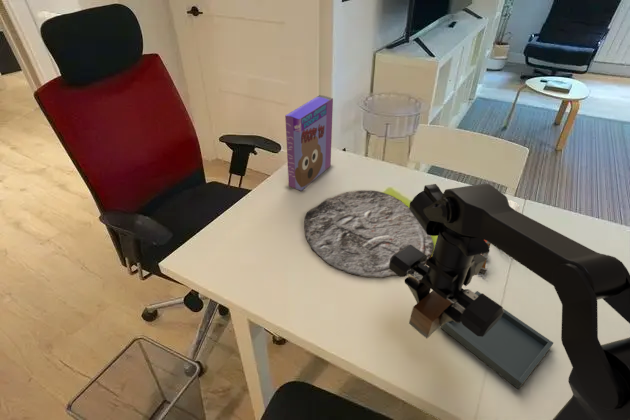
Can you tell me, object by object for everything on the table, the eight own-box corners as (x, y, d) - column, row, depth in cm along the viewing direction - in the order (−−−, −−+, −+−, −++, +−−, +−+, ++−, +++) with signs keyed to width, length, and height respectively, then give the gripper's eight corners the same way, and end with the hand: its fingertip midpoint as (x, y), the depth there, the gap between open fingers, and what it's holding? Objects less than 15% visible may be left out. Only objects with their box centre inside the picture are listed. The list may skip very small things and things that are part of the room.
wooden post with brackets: (489, 247, 94) (493, 240, 90) (482, 276, 91) (487, 270, 87) (481, 245, 95) (485, 238, 91) (475, 273, 92) (478, 267, 88)
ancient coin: (376, 303, 82) (376, 302, 82) (280, 224, 102) (280, 223, 102) (459, 235, 99) (459, 234, 99) (362, 179, 119) (363, 178, 119)
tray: (549, 348, 74) (554, 342, 72) (518, 389, 67) (522, 383, 66) (474, 296, 84) (477, 290, 82) (441, 327, 77) (443, 322, 76)
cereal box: (301, 191, 115) (299, 118, 100) (288, 186, 117) (285, 114, 102) (330, 166, 126) (332, 97, 111) (318, 162, 128) (319, 94, 113)
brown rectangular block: (453, 313, 69) (460, 296, 65) (426, 338, 65) (432, 321, 61) (435, 300, 71) (441, 283, 68) (408, 323, 67) (413, 306, 64)
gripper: (537, 265, 56) (503, 326, 66) (434, 206, 67) (418, 265, 77) (498, 304, 50) (468, 364, 60) (393, 232, 62) (382, 293, 71)
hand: (432, 316), depth 67 cm, fingers closed on brown rectangular block, 4 cm apart
